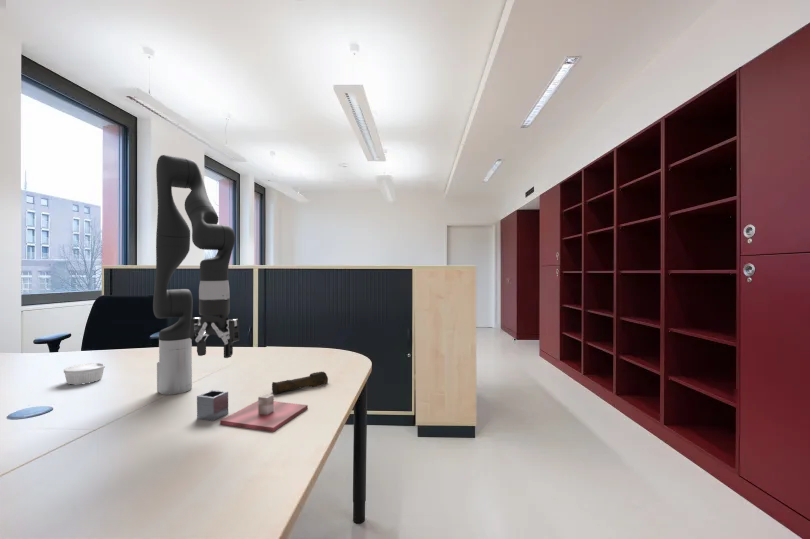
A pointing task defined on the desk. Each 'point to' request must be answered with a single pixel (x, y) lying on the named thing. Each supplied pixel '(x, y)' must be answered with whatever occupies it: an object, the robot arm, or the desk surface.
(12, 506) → the desk surface
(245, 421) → the post base
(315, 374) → the hand tool
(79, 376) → the ramekin
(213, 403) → the square socket
